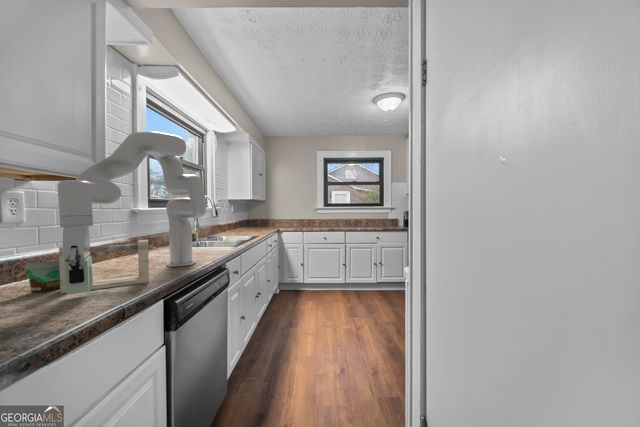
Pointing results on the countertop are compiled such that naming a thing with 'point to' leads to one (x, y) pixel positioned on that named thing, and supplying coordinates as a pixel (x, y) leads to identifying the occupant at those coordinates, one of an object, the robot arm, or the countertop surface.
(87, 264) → the sage green brick
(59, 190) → the robot arm
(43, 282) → the food container
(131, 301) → the countertop surface
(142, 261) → the shelf stand
